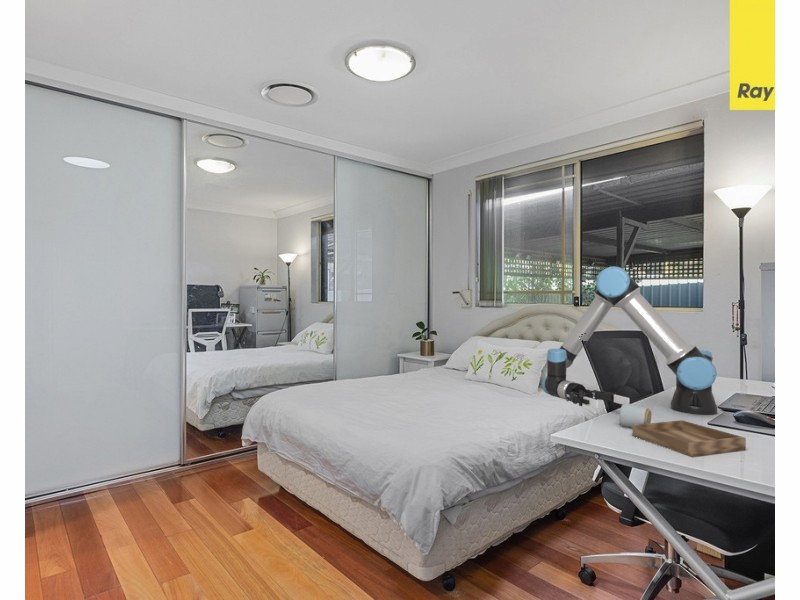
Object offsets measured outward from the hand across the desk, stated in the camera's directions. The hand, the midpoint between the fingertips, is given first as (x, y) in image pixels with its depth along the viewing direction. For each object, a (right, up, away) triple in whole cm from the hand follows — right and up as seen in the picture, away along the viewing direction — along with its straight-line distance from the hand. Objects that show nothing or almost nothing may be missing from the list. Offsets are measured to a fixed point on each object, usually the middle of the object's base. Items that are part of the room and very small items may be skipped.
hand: (613, 403), depth 162 cm
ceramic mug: (+4, -6, -8) cm, 11 cm away
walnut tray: (+10, -6, -26) cm, 28 cm away
